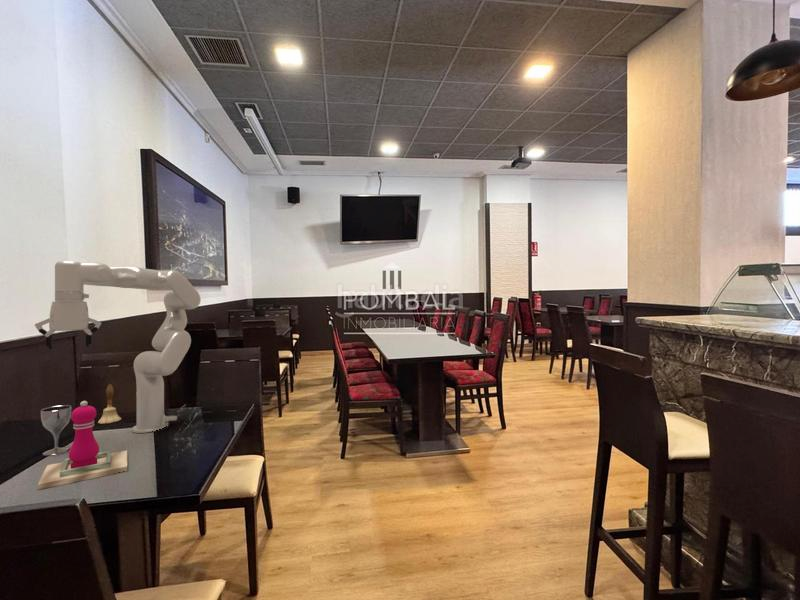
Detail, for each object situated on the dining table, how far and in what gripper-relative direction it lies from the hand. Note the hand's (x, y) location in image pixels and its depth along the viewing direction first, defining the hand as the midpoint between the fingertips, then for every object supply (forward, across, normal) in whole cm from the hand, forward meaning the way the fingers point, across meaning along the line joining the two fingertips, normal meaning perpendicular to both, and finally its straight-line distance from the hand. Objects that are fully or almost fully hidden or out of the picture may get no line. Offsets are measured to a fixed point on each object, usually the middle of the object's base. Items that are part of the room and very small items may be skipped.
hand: (69, 347), depth 132 cm
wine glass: (+36, +4, -6) cm, 37 cm away
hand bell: (+37, -10, -40) cm, 55 cm away
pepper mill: (+35, -5, +22) cm, 42 cm away
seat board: (+36, -6, +21) cm, 42 cm away
